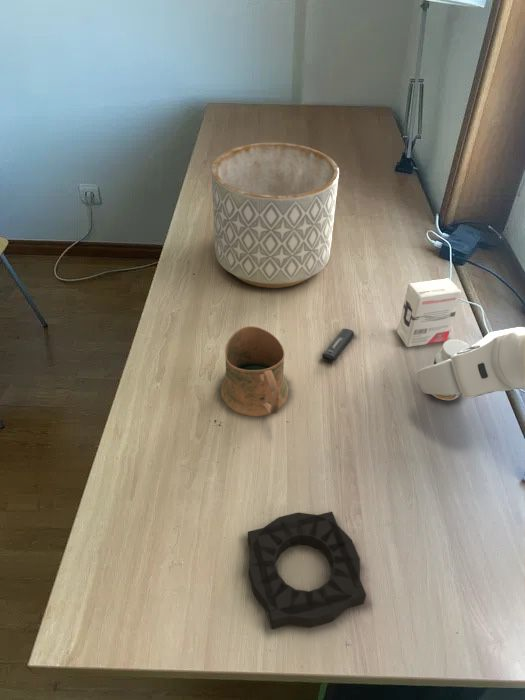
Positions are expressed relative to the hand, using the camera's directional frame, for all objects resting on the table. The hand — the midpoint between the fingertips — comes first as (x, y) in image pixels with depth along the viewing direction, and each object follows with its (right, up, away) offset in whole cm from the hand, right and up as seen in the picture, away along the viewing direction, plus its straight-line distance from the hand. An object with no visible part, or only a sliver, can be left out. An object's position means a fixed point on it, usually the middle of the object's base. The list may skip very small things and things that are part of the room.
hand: (448, 365), depth 95 cm
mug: (-32, -7, 0) cm, 33 cm away
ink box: (-1, +5, +14) cm, 15 cm away
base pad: (-26, -26, -21) cm, 43 cm away
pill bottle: (0, -5, +3) cm, 6 cm away
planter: (-29, +22, +32) cm, 49 cm away
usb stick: (-17, +3, +11) cm, 21 cm away
